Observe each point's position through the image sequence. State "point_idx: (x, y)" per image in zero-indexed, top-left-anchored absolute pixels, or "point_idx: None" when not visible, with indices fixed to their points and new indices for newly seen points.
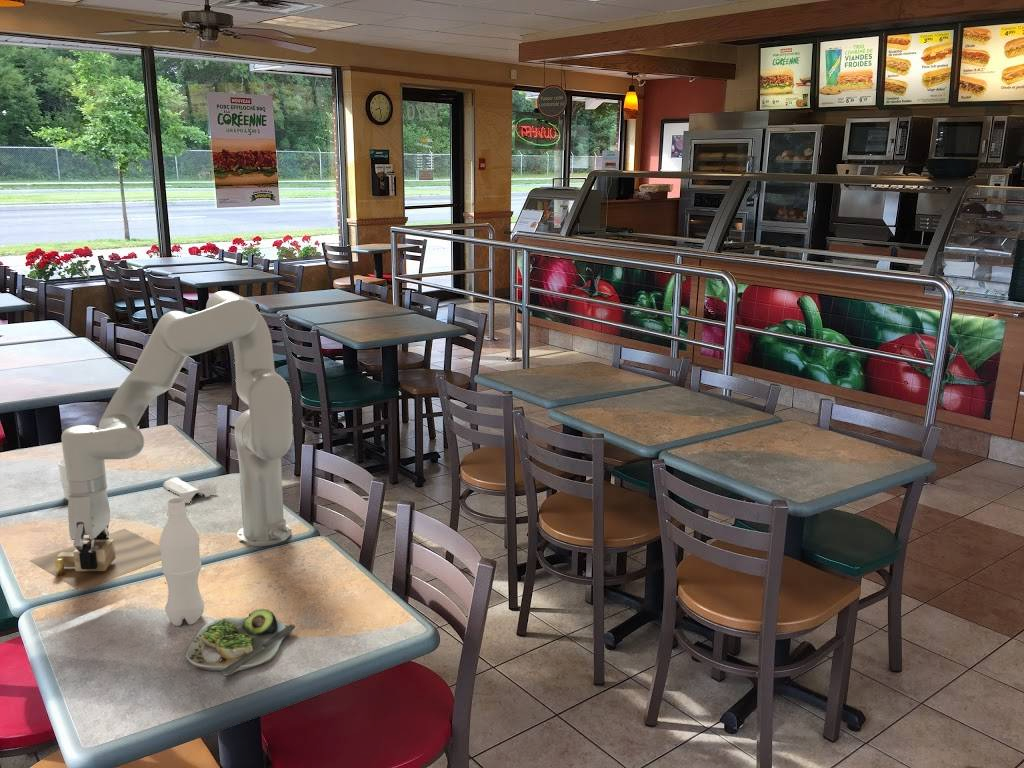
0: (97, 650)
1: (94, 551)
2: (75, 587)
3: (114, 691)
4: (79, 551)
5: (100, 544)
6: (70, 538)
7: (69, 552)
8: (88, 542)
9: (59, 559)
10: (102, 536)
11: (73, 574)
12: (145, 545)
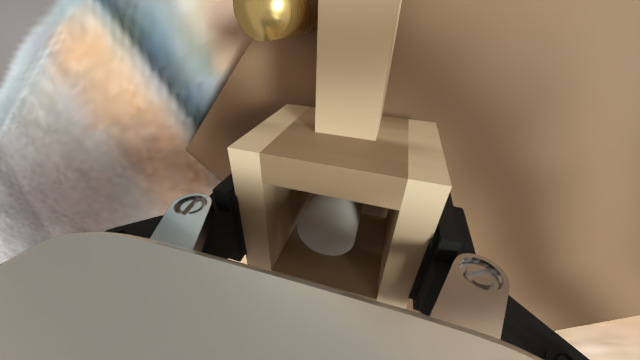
0: (54, 215)
1: (231, 258)
2: (199, 129)
3: (14, 241)
4: (159, 217)
5: (386, 254)
6: (42, 243)
7: (385, 44)
8: (400, 206)
9: (257, 15)
10: (420, 302)
11: (300, 83)
12: (555, 305)
